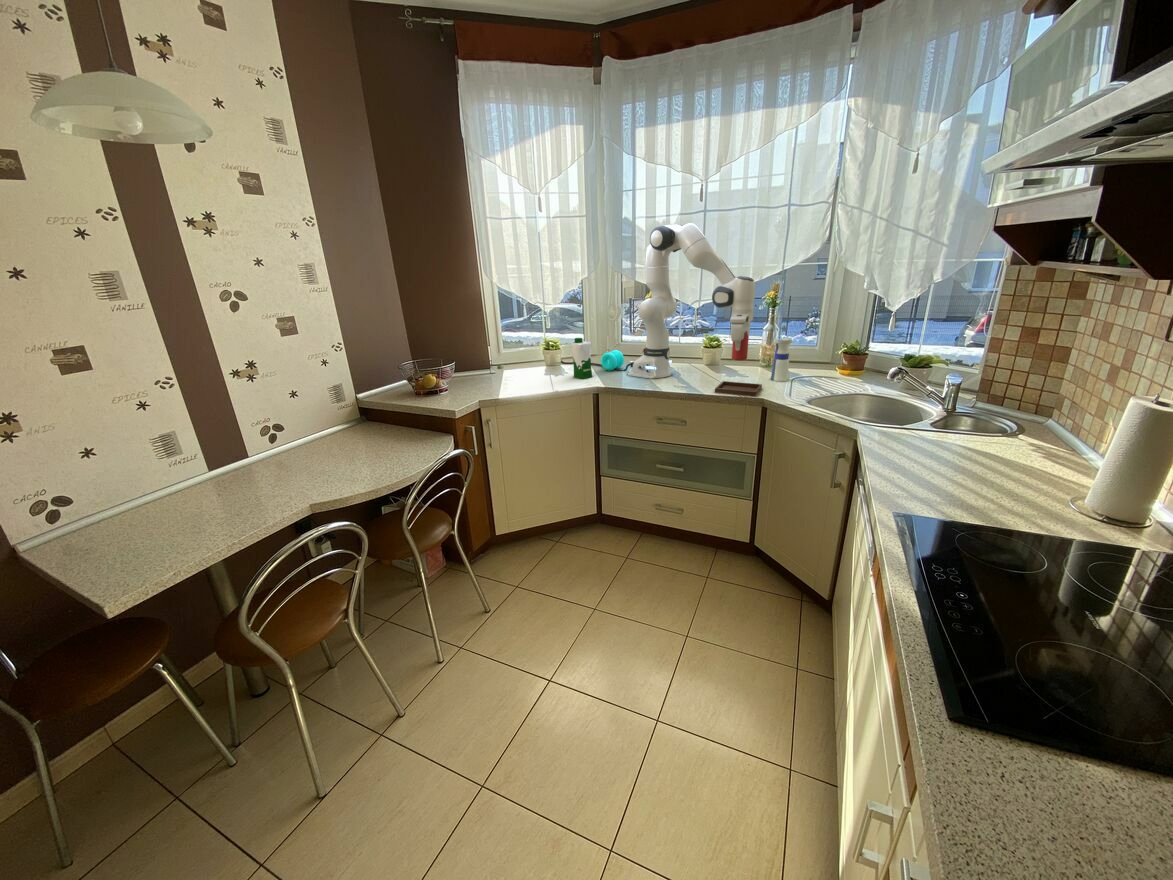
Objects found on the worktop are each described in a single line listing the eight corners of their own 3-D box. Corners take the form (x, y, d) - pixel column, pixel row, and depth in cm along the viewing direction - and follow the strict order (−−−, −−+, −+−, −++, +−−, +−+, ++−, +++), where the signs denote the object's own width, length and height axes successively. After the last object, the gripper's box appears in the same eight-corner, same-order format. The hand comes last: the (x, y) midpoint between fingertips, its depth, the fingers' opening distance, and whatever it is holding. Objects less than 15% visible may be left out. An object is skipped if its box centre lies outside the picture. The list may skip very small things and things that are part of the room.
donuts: (625, 368, 265) (625, 350, 261) (615, 372, 258) (614, 353, 254) (610, 366, 271) (610, 348, 267) (600, 370, 264) (599, 352, 260)
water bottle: (766, 377, 232) (771, 325, 223) (783, 376, 233) (788, 324, 224) (774, 382, 224) (779, 328, 215) (791, 380, 225) (797, 327, 216)
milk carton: (583, 374, 257) (581, 336, 249) (595, 376, 250) (593, 338, 243) (571, 377, 251) (569, 339, 244) (582, 379, 245) (580, 340, 238)
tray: (714, 392, 212) (714, 388, 212) (722, 385, 223) (722, 381, 223) (755, 396, 204) (755, 392, 203) (761, 388, 215) (762, 384, 214)
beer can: (747, 360, 207) (750, 332, 203) (732, 360, 208) (733, 333, 204) (746, 357, 213) (748, 330, 209) (730, 357, 214) (732, 330, 210)
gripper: (740, 313, 214) (738, 344, 219) (729, 319, 197) (727, 352, 202) (754, 313, 211) (752, 344, 216) (744, 319, 194) (742, 353, 199)
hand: (740, 348), depth 209 cm, fingers closed on beer can, 6 cm apart
